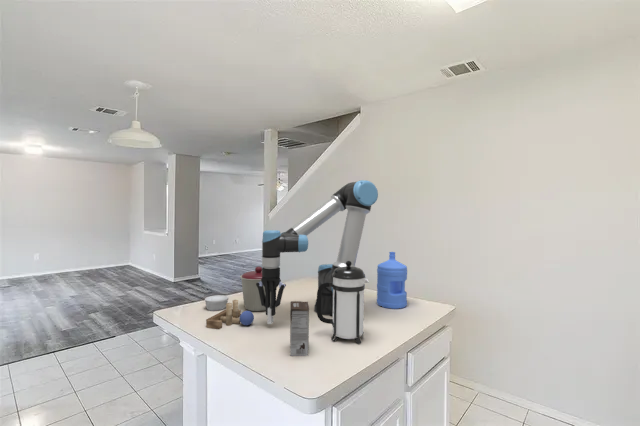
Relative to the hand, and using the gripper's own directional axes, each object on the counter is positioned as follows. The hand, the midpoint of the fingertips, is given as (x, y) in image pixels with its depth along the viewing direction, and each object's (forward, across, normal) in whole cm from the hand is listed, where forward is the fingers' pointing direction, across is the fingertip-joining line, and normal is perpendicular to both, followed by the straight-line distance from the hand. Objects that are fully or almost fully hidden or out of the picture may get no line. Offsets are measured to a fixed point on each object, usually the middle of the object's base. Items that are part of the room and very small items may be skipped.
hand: (270, 322), depth 133 cm
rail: (+2, +22, 0) cm, 23 cm away
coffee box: (+2, -19, +17) cm, 26 cm away
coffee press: (+2, -32, +1) cm, 32 cm away
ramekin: (+2, +37, -16) cm, 40 cm away
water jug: (+2, -47, -50) cm, 69 cm away
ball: (-1, +11, 0) cm, 11 cm away
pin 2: (+2, +18, -2) cm, 19 cm away
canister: (+2, +17, -22) cm, 28 cm away
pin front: (+1, +14, 0) cm, 15 cm away
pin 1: (+2, +18, +2) cm, 19 cm away
